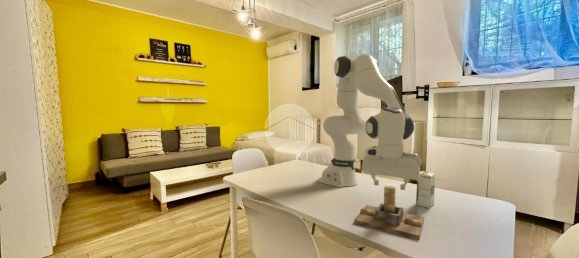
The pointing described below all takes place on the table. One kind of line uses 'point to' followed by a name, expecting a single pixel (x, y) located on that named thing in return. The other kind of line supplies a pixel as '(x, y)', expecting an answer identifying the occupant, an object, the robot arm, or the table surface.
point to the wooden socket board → (391, 221)
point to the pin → (389, 199)
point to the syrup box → (425, 189)
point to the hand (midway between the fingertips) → (389, 187)
